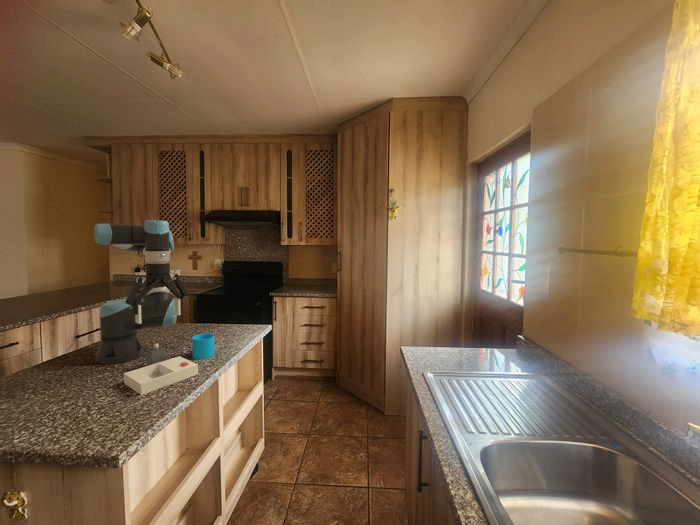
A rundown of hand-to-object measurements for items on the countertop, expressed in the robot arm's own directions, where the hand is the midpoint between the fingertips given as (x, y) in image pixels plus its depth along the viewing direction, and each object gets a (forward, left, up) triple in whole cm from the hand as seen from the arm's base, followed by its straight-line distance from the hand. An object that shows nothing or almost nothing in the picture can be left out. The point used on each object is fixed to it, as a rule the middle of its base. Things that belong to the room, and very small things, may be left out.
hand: (159, 318), depth 109 cm
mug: (+1, +17, -19) cm, 26 cm away
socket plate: (+10, -4, -19) cm, 22 cm away
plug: (-1, -1, -19) cm, 19 cm away
